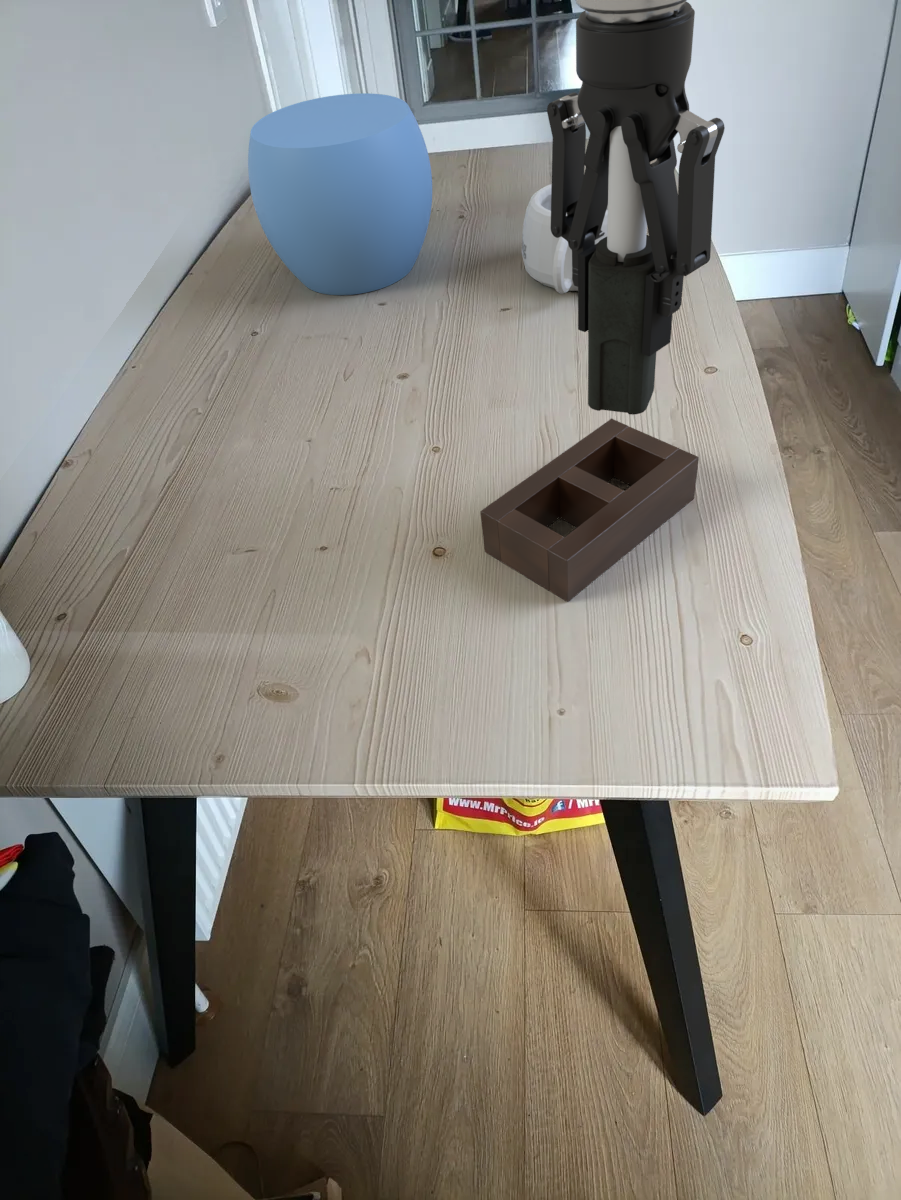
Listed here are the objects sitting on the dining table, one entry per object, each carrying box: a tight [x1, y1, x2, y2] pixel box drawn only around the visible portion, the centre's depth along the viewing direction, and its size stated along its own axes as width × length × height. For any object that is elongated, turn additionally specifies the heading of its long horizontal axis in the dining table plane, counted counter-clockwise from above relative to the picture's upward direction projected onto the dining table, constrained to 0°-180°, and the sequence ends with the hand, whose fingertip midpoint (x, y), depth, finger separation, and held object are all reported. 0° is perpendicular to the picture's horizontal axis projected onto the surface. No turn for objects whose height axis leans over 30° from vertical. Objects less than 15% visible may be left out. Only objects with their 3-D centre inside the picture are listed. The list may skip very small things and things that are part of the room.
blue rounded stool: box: [247, 92, 433, 296], centre depth 123 cm, size 25×25×20 cm
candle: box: [587, 126, 657, 416], centre depth 68 cm, size 5×5×25 cm
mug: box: [521, 183, 608, 295], centre depth 117 cm, size 21×17×10 cm
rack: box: [480, 418, 700, 603], centre depth 82 cm, size 10×19×5 cm, turn 134°
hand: (623, 335), depth 72 cm, fingers closed on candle, 6 cm apart
